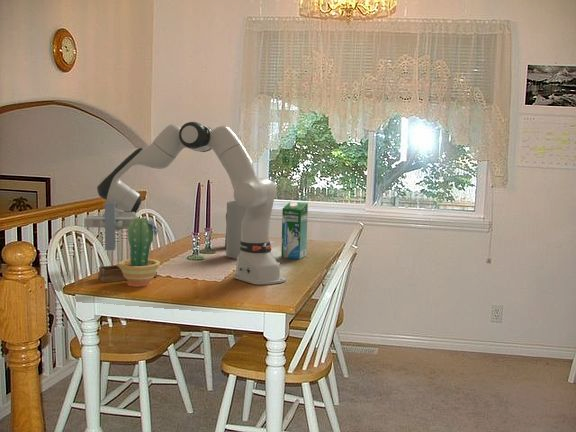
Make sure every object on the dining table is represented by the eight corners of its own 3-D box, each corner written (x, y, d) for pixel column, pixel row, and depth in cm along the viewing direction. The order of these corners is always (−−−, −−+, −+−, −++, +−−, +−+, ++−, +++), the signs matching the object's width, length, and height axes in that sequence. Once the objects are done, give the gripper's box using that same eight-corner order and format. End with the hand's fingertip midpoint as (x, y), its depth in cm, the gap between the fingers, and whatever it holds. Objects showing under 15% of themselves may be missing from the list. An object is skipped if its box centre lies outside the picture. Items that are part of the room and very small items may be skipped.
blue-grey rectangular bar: (115, 248, 255) (115, 201, 253) (114, 250, 252) (114, 203, 249) (106, 248, 254) (105, 201, 252) (105, 250, 251) (104, 202, 248)
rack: (156, 277, 260) (156, 265, 259) (103, 282, 249) (102, 270, 249) (150, 273, 266) (150, 262, 265) (98, 278, 255) (97, 266, 255)
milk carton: (281, 257, 305) (282, 203, 302) (288, 254, 314) (289, 201, 310) (299, 259, 302) (300, 204, 298) (306, 255, 310) (307, 202, 307)
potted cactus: (148, 290, 239) (148, 221, 236) (110, 286, 243) (109, 219, 240) (167, 281, 254) (167, 216, 251) (131, 277, 258) (130, 213, 255)
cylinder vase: (246, 260, 297) (247, 204, 293) (221, 257, 301) (222, 202, 298) (257, 255, 308) (258, 202, 305) (233, 253, 313) (234, 200, 309)
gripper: (85, 211, 262) (81, 216, 248) (138, 211, 266) (137, 216, 252) (86, 227, 263) (81, 233, 249) (138, 227, 266) (137, 233, 253)
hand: (110, 224), depth 251 cm, fingers closed on blue-grey rectangular bar, 4 cm apart
